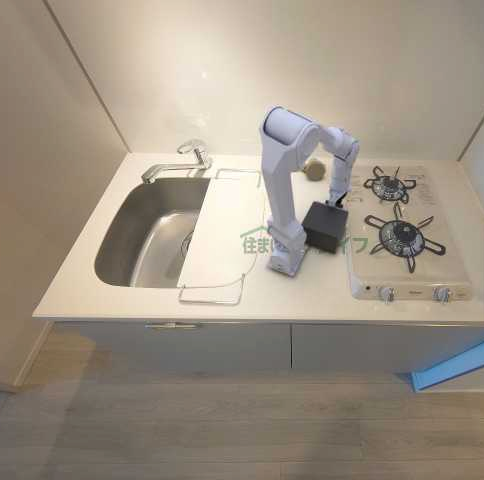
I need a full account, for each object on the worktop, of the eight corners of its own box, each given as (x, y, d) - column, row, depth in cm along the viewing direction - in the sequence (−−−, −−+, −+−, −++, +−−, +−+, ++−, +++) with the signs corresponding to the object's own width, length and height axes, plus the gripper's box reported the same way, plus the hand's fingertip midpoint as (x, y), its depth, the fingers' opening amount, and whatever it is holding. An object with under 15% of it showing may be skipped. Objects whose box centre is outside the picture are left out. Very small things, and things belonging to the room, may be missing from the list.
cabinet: (312, 218, 90) (313, 201, 83) (345, 228, 87) (348, 211, 80) (300, 242, 84) (300, 225, 77) (335, 253, 82) (338, 237, 75)
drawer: (319, 206, 92) (320, 192, 86) (348, 215, 89) (351, 201, 84) (305, 235, 85) (305, 222, 79) (335, 246, 82) (338, 233, 77)
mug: (320, 163, 107) (328, 151, 97) (318, 185, 105) (326, 176, 96) (302, 159, 105) (309, 147, 96) (300, 182, 104) (306, 173, 94)
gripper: (347, 194, 73) (341, 224, 84) (361, 162, 80) (354, 194, 91) (322, 187, 74) (320, 218, 85) (338, 156, 82) (334, 188, 93)
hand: (336, 205), depth 88 cm, fingers closed, pressing on drawer
